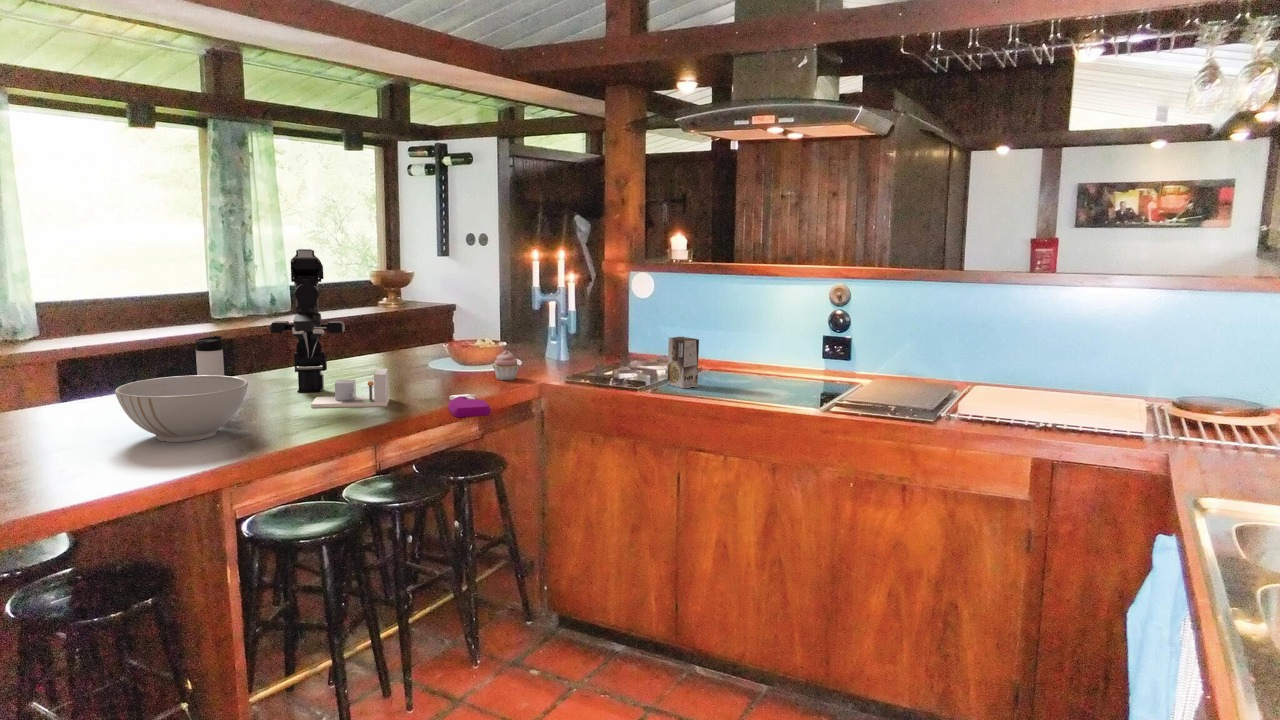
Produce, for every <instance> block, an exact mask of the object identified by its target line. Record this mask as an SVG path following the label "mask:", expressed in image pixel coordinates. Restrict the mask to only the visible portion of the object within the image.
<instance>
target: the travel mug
mask: <svg viewBox="0 0 1280 720" xmlns="http://www.w3.org/2000/svg"><path fill="white" fill-rule="evenodd" d="M223 350H224V349H223V338H222V335H214V336H209V337H202V338H198V339H196V340H195V357H196V358H195V359H196V373H197V374H196V375H216V376H225V363H224V351H223Z"/></svg>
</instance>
